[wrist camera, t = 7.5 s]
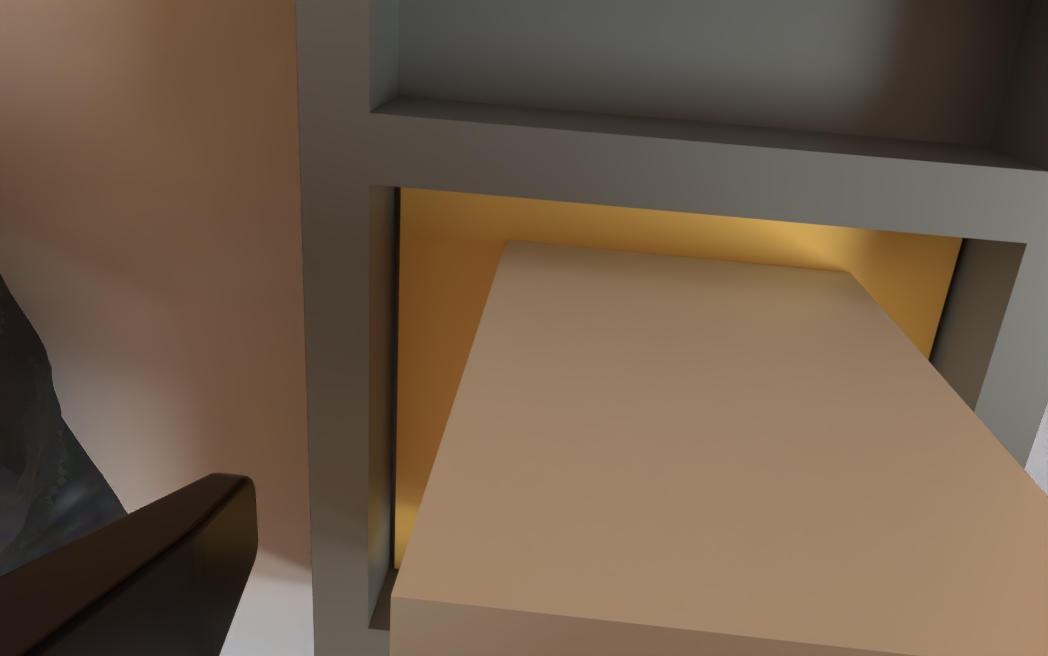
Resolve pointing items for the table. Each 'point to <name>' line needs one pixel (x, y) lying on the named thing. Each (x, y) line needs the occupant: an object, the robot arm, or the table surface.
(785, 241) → the pdu strip
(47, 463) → the dark slate chunk
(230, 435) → the table surface
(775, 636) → the plug
